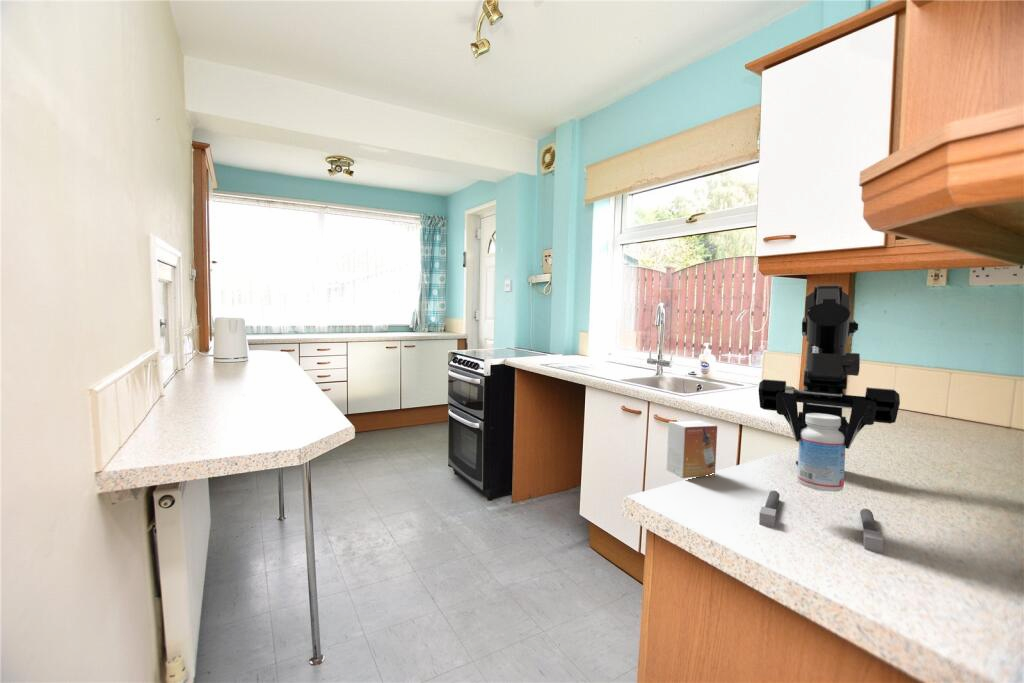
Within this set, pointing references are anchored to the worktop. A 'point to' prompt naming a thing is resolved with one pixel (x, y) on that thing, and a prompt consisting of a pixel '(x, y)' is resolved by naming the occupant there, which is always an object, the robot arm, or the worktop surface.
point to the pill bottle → (821, 453)
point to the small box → (691, 448)
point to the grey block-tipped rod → (769, 510)
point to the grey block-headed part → (871, 532)
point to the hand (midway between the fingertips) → (821, 443)
